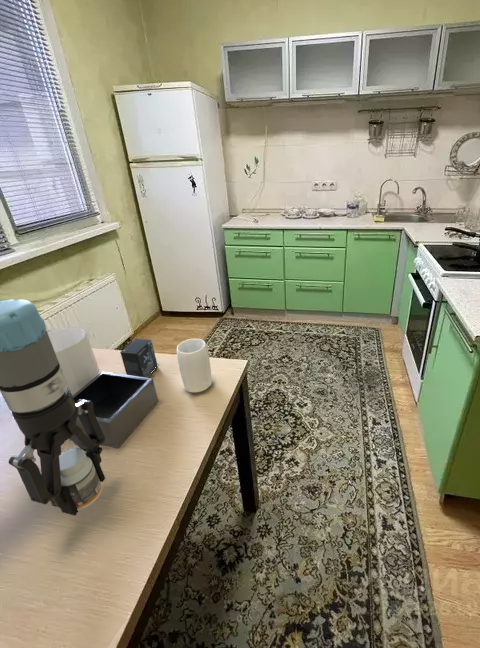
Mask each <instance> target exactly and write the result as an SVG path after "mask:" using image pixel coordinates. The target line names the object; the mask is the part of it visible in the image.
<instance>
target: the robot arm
mask: <svg viewBox="0 0 480 648" xmlns="http://www.w3.org/2000/svg"><path fill="white" fill-rule="evenodd" d="M47 331H48V330H47V327H46V323H45V320H44V319H43V317H42V316H41V315H40V312H39V310H38V309H37V306H36V305H35V304H34V303H33V302H31V301H29V300H28V299H27V300H26V299H5V300H0V394H1V396H2V398H3V400H4V402H5V404H6V405H7V407H8V409H9V411H11V415H12V417H13V419H14V421H15V423H16V425H17V427H18V428H19V430H20V432H21V433H22V434H23V435H24V447H23V449H22V450H21V451H20V452H19V454H18V455H12V456H11V457H10V458H9V459H8V464H9V465H10V466H12V467H13V468H15V469H16V470H17V472H18V474H19V477H20V479H21V481H22V483H23V485H24V487H25V489H26V492H27V494H28V496H29V499H30V500H31V502H35V503H39V504H42V505H48V503H49V502H50V504H51V506H52V507H54V508H58V509H60V511H61V513H63V514H67V515H70V516H74V517H75V516H77V515H78V513H79V509H78V510H77V507H76V505H75V503H74V501H73V499H72V497H71V495H70V493H69V491H68V489H67V487H63V486H61V477H60V463H59V455H61V454H62V446H63V445H64V443H65V442H66V441H67V440H70V441H71V442H73V444H75V446H77V447H78V448H81V449H83V450H84V452H85V454H86V456H87V457H89V458H90V459H91V460H92V462H93V465H94V468H95V470H96V473H97V475H98V478H99V480H100V483H103V482H105V480H106V477H105V474H104V471H103V469H102V467H101V463H102V457H101V454H102V452H103V447H100V446H101V445H100V443H103V442H104V441H105V436H104V434H103V432H102V430H101V427H100V425H99V423H98V421H97V419H96V416H95V414H94V412H93V402H92V401H88V400H82V399H79V400H78V401H77V402H76V404H75V401H74V399H73V396H72V394H71V391H70V389H69V388H68V387H67V386H68V384H67V382H66V379H65V377H64V374H63V372H62V369H61V367H60V364H59V362H58V359H57V357H56V354H55V351H54V349H53V346H52V343H51V341H50V338H49V336H48V333H47ZM77 416H78V417H79V419H80V421H81V423H82V425H83V427H84V429H85V432H86V434H87V436H88V437H87V436H86V435H85V434H84V433H83V432H82V431H83V430H82V429H80V428H79V427H78V426H77V425H76V421H77ZM35 451H36V455H37V456H38V457H39V463H40V468H39V466H38V465H37V464H36V459H37V458H35V455H34V452H35Z"/></svg>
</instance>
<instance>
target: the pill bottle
mask: <svg viewBox="0 0 480 648" xmlns="http://www.w3.org/2000/svg"><path fill="white" fill-rule="evenodd" d="M85 453H86V451H84V450H83V449H81V448H80V447H73V448H69V449H67V450H65V451H63V452H61V455H59V463H60V477H61V486H63V487H67V489H68V491H69V493H70V495H71V497H72V499H73V501H74V503H75V505H76V507H77V510H78V511H79V510H83V509H85V508H88V507H89V506H91V505H92V504H93V503H95V501H96V500H97V499H98V498H99V496H100V494H101V492H102V482H100V480H99V478H98V475H97V473H96V470H95V468H94V465H93V462H92V460H91V459H90V458H89V457H87V456H86V454H85Z"/></svg>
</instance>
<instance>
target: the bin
mask: <svg viewBox="0 0 480 648" xmlns="http://www.w3.org/2000/svg"><path fill="white" fill-rule="evenodd" d="M73 399H74V401H75V404H76V402H77V401H78V400H79V399H82V400H88V401H92V402H93V412H94V414H95V416H96V419H97V421H98V423H99V425H100V427H101V430H102V432H103V434H104V436H105V441H104V442H103V443H100V445H99V446H105V447H109V448H115V449H120V447H122V445H123V444H124V443H125V442H126V441H127V440H128V438H129V437H130V436H131V435H132V434H133V432H135V430H136V429H137V428H138V426H139V425H140V424H141V423H142V422H143V421H144V419H145V418H146V417H147V416H148V415H149V414H150V412H152V410H153V409H154V408H155V407H156V406H157V404H158V403H159V396H158V394H157V390H156V386H155V382H154V379H153V378H152V377H148V378H146V377H139V376H132V375H127V374H126V373H117V372H111V371H104V370H103V371H100V374H98V375H97V376H96V377H95V378H93V379H92V380H91V381H90V382H89V383H87V384H86V385H85V386H84V387H82V388H81V389H80V390H79V391H78V392H76V393H75V394H74V395H73ZM76 425H77V426H78V427H79V428H80V429H82V430H83V431H82V432H83V433H84V434H85V435H86V436H87V434H86V432H85V429H84V427H83V425H82V423H81V421H80V419H79V417H78V416H77V421H76ZM87 437H88V436H87Z"/></svg>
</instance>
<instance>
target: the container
mask: <svg viewBox="0 0 480 648" xmlns="http://www.w3.org/2000/svg"><path fill="white" fill-rule="evenodd" d="M51 330H52V331H50V330H48V331H49V332H47V333H48V336H49V338H50V341H51V343H52V346H53V349H54V351H55V354H56V357H57V359H58V362H59V364H60V367H61V369H62V372H63V374H64V377H65V379H66V382H67V384H68V386H67V387H68V388H69V389H70V391H71V394H72V396H73V395H74V394H75V393H76V392H78V391H79V390H80V389H81V388H82V387H84V386H85V385H86V384H87V383H89V382H90V381H91V380H92V379H93V378H95V377H96V376H97V375H98V374H100V373H101V371H100V368H99V364H98V362H97V359H96V356H95V353H94V350H93V347H92V344H91V341H90V338H89V336H88V333H87V330H85V329H84V328H82V327H79V326H66V327H61V328H55V329H51Z"/></svg>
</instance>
